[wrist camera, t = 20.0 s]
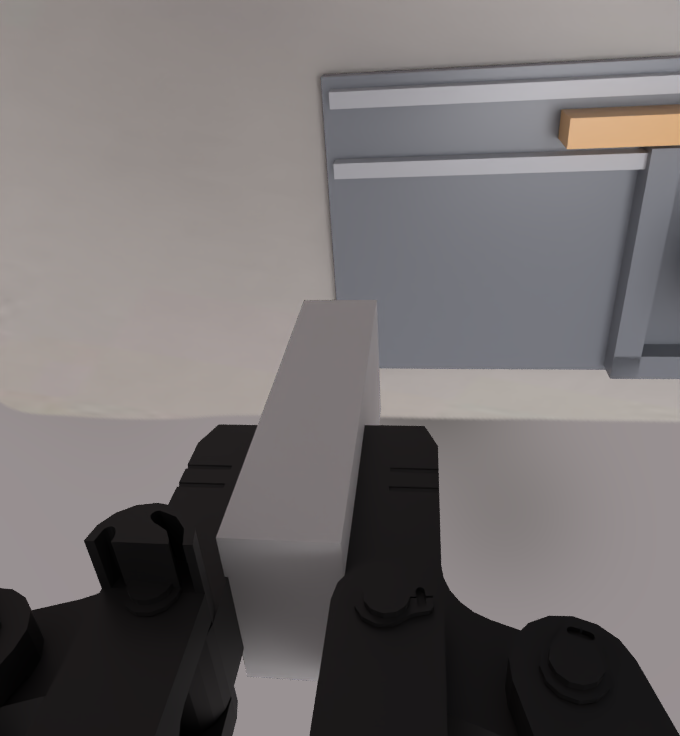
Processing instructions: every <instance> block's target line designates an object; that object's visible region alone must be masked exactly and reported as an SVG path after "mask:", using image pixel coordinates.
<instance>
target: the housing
mask: <svg viewBox="0 0 680 736" xmlns="http://www.w3.org/2000/svg"><path fill="white" fill-rule="evenodd" d="M321 89H322V103H323V117H324V131H325V146H326V160H327V174H328V188H329V202H330V216H331V230H332V244H333V259H334V273H335V287H336V300H377V320H378V349H379V368H421V369H587V370H606V371H607V373H608V375H609V377H610V378H612V379H680V145H671V146H644V147H616V148H589V149H566V148H565V146H564V145H563V144H562V143H561V141H560V140H559V139H558V135H559V126H560V117H561V109H582V108H604V107H627V106H649V105H672V104H680V56H662V57H643V58H625V59H606V60H587V61H568V62H550V63H531V64H512V65H494V66H475V67H456V68H438V69H419V70H400V71H381V72H363V73H344V74H325V75H322V76H321Z"/></svg>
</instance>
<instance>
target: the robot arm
mask: <svg viewBox="0 0 680 736" xmlns="http://www.w3.org/2000/svg"><path fill="white" fill-rule="evenodd" d="M380 412H381V406H380V377H379V349H378V320H377V300H304V302H303V305H302V308H301V310H300V313H299V316H298V318H297V321H296V324H295V326H294V329H293V332H292V334H291V337H290V340H289V343H288V345H287V348H286V351H285V353H284V356H283V359H282V361H281V364H280V367H279V369H278V372H277V375H276V378H275V380H274V383H273V386H272V388H271V391H270V394H269V396H268V399H267V402H266V404H265V407H264V410H263V412H262V415H261V418H260V421H259V423H258V425H218V426H217V427H216V428H214V429H213V430H212V431H211V432H210V433H209V434H208V435H207V436H206V437H204V438H203V439H202V440H201V441H200V442H199V443H198V445H197V447H196V449H195V451H194V453H193V455H192V457H191V459H190V461H189V463H188V469H185V471H184V473H183V475H182V478H181V480H180V482H179V487H177V488H176V490H175V492H174V494H173V496H172V498H171V500H170V502H169V504H168V505H166V504H160V503H153V504H144V505H136V506H133V507H131V508H128V509H125V510H122V511H120V512H117V513H115V514H113V515H112V516H111V517H109V518H107V519H106V520H104V521H103V522H101V523H100V524H98V525H97V526H96V527H95V528H94V530H93V531H92V532H91V533H90V534H89V535H88V537H87V538H86V539H85V540H84V542H85V544H86V547H87V550H88V553H89V555H90V558H91V561H92V563H93V566H94V568H95V571H96V574H97V577H98V579H99V582H100V584H101V587H102V589H101V591H100V593H98V594H96V595H93V596H90V597H86V598H83V599H80V600H76V601H71V602H67V603H62V604H58V605H54V606H49V607H45V608H40V609H36V610H31V608H30V606H29V604H28V602H27V600H26V598H25V597H24V596H22V595H21V594H19V593H18V592H16V591H14V590H13V589H2V588H0V736H232V735H233V731H234V727H235V723H236V719H237V703H238V700H237V697H236V692H235V688H234V683H235V680H236V676H237V672H238V669H239V665H240V661H241V657H242V656H243V660H244V664H245V669H246V673H247V676H248V677H262V678H277V679H290V680H306V681H318V685H317V691H316V697H315V704H314V710H313V717H312V723H311V730H310V736H680V735H679V733H678V732H677V730H676V728H675V727H674V725H673V723H672V721H671V720H670V718H669V716H668V714H667V713H666V711H665V709H664V708H663V706H662V704H661V702H660V701H659V699H658V697H657V696H656V694H655V692H654V690H653V689H652V687H651V685H650V683H649V682H648V680H647V678H646V676H645V675H644V673H643V671H642V670H641V668H640V666H639V664H638V663H637V661H636V660H635V658H634V657H633V656H632V655H631V653H630V652H629V651H628V650H627V648H626V647H625V646H624V645H623V644H622V642H621V641H620V640H619V639H618V638H616V637H615V636H613V635H612V634H610V633H609V632H607V631H606V630H604V629H603V628H601V627H600V626H599V625H597V624H594V623H591V622H588V621H585V620H582V619H579V618H575V617H573V616H547V617H544V618H541V619H539V620H536V621H533V622H530V623H528V624H527V625H526V626H525V627H524V628H523V629H522V630H518V629H515V628H512V627H509V626H506V625H503V624H501V623H498V622H495V621H491V620H489V619H487V618H485V617H483V616H481V615H479V614H477V613H474V612H472V610H470V609H469V608H467V607H466V606H465V605H463V604H462V603H461V602H460V601H459V600H458V599H457V598H456V597H455V596H454V594H453V593H452V592H451V591H450V590H449V588H448V586H447V584H446V582H445V580H444V578H443V573H442V567H441V544H440V512H439V511H440V508H439V473H438V446H437V444H436V443H435V441H434V440H433V438H432V437H431V435H430V434H429V432H428V431H427V429H426V428H425V426H384V425H379V421H380Z"/></svg>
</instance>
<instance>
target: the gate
mask: <svg viewBox="0 0 680 736" xmlns="http://www.w3.org/2000/svg"><path fill="white" fill-rule="evenodd" d="M558 139H559V140H560V141H561V143H562V144H563V145H564V146H565V148H566V149H589V148H616V147H644V146H671V145H680V104H672V105H649V106H627V107H604V108H582V109H561V117H560V126H559V135H558Z"/></svg>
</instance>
